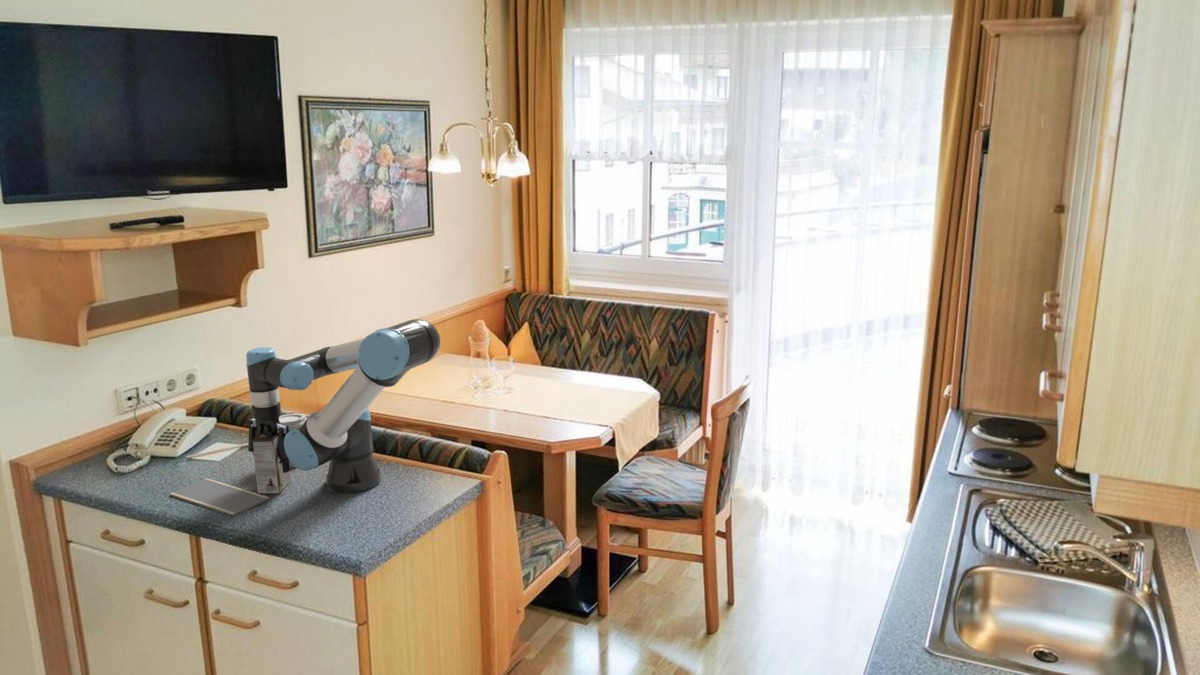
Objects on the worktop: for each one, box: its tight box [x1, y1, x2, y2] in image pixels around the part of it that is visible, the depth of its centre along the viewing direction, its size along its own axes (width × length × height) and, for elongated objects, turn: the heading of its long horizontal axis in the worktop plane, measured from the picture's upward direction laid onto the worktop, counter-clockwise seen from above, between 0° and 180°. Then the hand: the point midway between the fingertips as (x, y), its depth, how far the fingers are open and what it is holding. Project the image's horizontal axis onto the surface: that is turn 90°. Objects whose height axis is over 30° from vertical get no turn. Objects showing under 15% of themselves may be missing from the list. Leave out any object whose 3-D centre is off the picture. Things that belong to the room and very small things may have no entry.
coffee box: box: [252, 433, 292, 494], centre depth 254 cm, size 9×6×16 cm
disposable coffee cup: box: [279, 413, 308, 468], centre depth 271 cm, size 11×11×15 cm
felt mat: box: [169, 477, 270, 517], centre depth 250 cm, size 26×12×1 cm, turn 60°
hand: (273, 479), depth 256 cm, fingers closed on coffee box, 9 cm apart
